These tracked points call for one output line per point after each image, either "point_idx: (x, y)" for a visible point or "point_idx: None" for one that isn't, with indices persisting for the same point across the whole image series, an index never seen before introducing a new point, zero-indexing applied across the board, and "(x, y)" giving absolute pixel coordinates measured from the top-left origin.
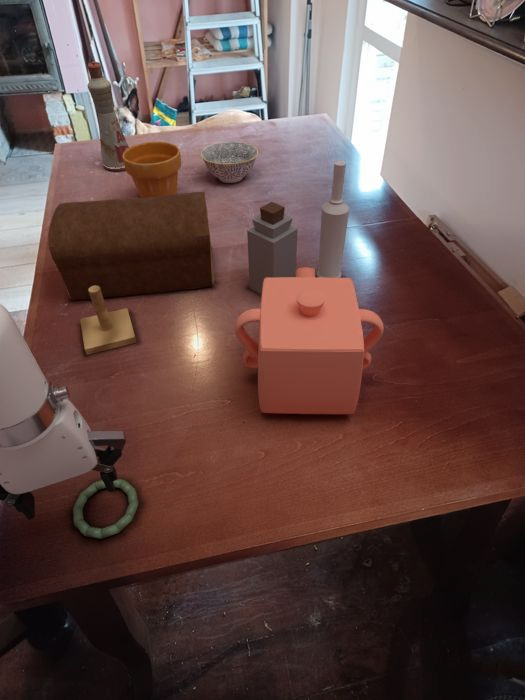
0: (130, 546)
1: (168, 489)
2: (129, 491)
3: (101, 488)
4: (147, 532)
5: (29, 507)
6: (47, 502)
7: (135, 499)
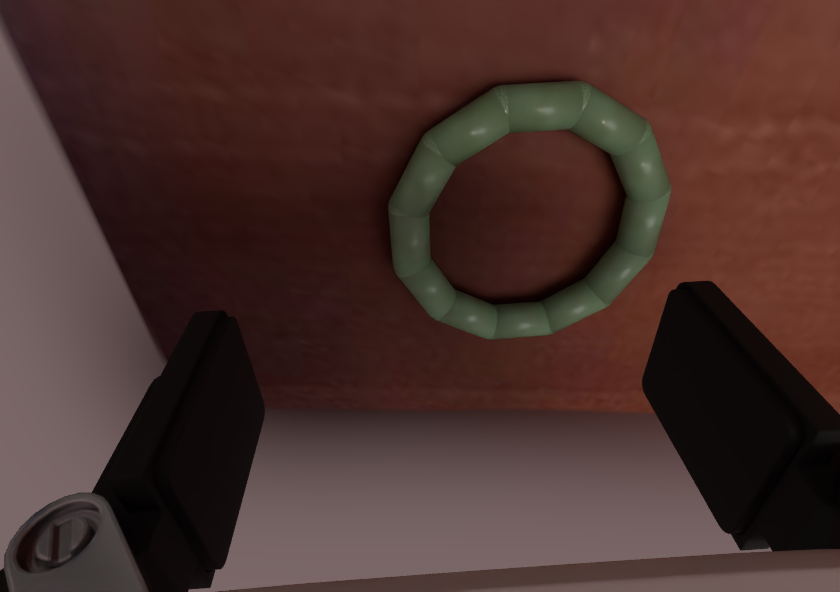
0: (563, 358)
1: (777, 203)
2: (650, 205)
3: (529, 131)
4: (627, 333)
5: (243, 459)
6: (253, 104)
7: (654, 243)
